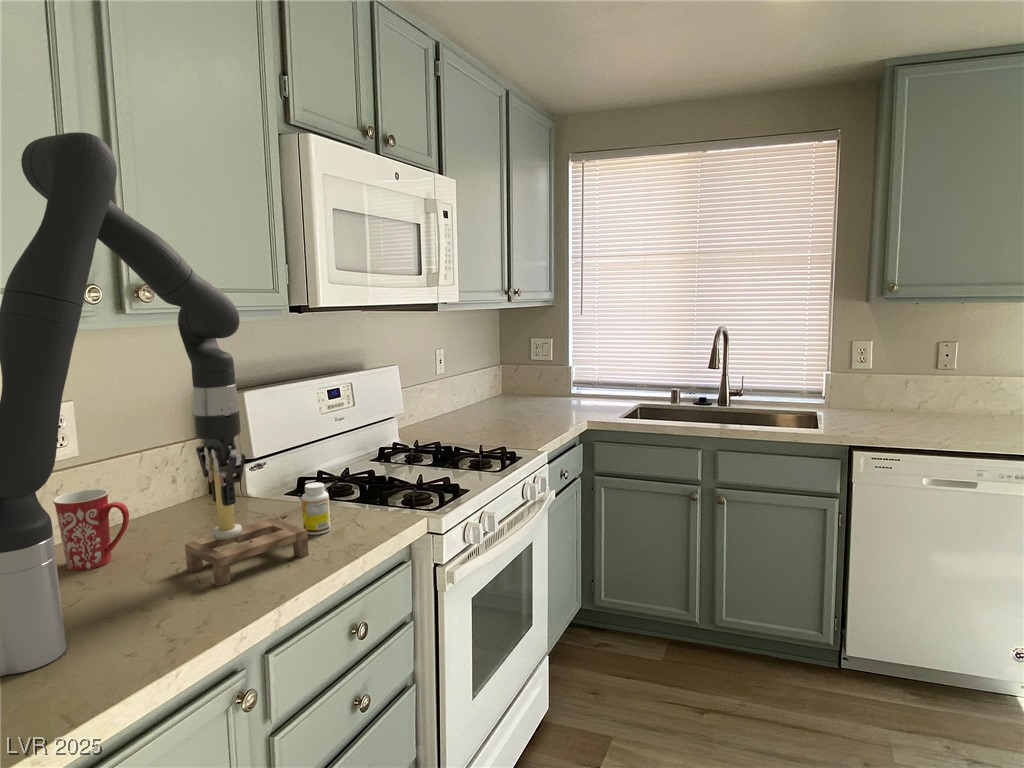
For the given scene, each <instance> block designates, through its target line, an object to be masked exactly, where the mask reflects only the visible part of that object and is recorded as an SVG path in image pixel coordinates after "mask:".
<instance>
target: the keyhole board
mask: <svg viewBox="0 0 1024 768" xmlns="http://www.w3.org/2000/svg"><path fill="white" fill-rule="evenodd" d="M241 527H242V534H241V535H239V536H237V537H234V538H230V539H214V538H213V535H211V536H210V535H209V536H207V537H204V538H200V539H197V540H195V541H190V542H187V543H185V544H184V546H185V557H186V558H185V561H186V570H187V571H189V572H191V573H195V572H198V571H201V570H203V569H204V565H203V561H205V562H207V563H209V564H210V565H212V572H213V584H214V583H215V585H216V584H217V585H216V586H218V585H219V586H218V587H222V586H221V585H223V586H224V584H225V585H227V584H230V582H231V571H230V568H231V567H230V566H231V565H230V564H233V563H236V562H238V561H241V560H245V559H247V558H251V557H254V556H256V555H260V554H262V553H267V552H268V551H271V550H274V549H277V548H280V547H284V546H286V545H289V544H292V548H293V552H292V553H293V556H294V557H296V556H297V557H296V558H298V557H301V558H303V557H302V556H304V557H306V556H305V555H307V556H309V541H308V539H309V538H308V534H307V530H305V529H304V527H299V526H296V525H293V524H291V523H288V522H285V521H282V520H279V519H277V518H273V517H272V518H269V519H265V520H262V521H257V522H255V523H252V524H248V525H244V526H241ZM247 541H249V543H245V542H247ZM234 543H238V544H241V543H244V544H242V545H239V546H236V547H232V548H229V549H225V550H223V551H220V552H219V551H217V550H215V549H217V548H220V547H221V548H222V547H224V546H227V545H230V544H234ZM231 583H232V582H231Z"/></svg>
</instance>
